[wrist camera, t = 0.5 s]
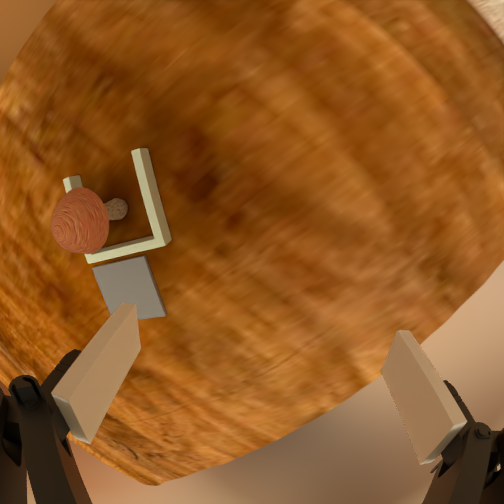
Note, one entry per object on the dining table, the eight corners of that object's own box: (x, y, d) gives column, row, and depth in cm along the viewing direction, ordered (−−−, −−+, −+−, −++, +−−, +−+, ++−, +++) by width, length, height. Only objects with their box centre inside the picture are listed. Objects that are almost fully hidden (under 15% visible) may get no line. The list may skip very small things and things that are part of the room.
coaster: (94, 266, 42) (91, 268, 41) (145, 254, 41) (143, 256, 40) (116, 320, 45) (114, 322, 44) (167, 313, 44) (165, 315, 43)
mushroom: (89, 192, 38) (22, 214, 24) (129, 168, 37) (66, 180, 23) (109, 239, 41) (51, 279, 26) (151, 219, 39) (98, 255, 25)
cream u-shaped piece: (74, 177, 38) (63, 179, 35) (147, 148, 36) (139, 148, 33) (97, 257, 42) (88, 264, 39) (171, 239, 40) (165, 245, 37)
